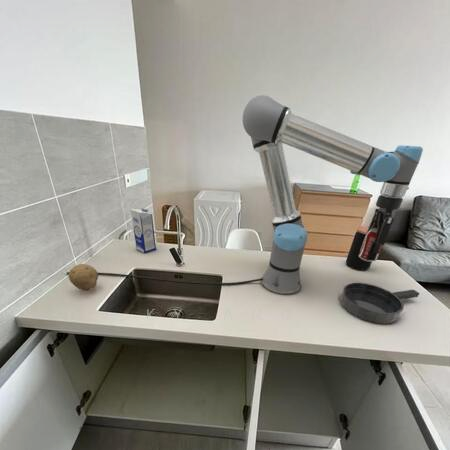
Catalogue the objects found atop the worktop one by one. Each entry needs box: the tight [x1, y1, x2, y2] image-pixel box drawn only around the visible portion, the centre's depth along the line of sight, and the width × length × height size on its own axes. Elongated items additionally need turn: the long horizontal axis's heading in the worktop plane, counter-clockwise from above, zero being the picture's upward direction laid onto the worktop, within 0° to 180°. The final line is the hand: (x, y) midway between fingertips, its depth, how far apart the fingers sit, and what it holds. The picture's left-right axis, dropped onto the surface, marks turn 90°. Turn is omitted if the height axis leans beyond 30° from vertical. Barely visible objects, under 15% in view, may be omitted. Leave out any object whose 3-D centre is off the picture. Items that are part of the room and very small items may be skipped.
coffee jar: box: [345, 225, 373, 272], centre depth 112 cm, size 11×11×18 cm
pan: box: [339, 282, 405, 325], centre depth 87 cm, size 19×19×4 cm
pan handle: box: [387, 289, 420, 301], centre depth 90 cm, size 12×3×2 cm, turn 106°
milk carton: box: [130, 208, 157, 254], centre depth 116 cm, size 7×7×20 cm
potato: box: [68, 263, 99, 292], centre depth 86 cm, size 9×9×10 cm
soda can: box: [359, 228, 384, 263], centre depth 95 cm, size 7×7×12 cm
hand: (368, 255), depth 97 cm, fingers closed on soda can, 7 cm apart
